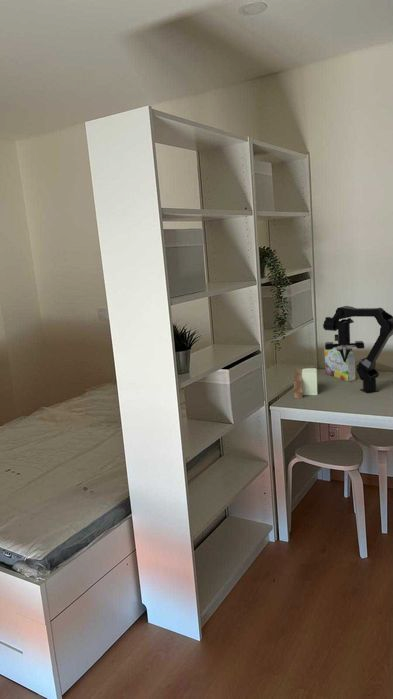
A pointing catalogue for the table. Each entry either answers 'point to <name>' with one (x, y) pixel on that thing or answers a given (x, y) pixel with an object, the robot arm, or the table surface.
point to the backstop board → (298, 384)
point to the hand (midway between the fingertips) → (344, 362)
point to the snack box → (340, 365)
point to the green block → (309, 381)
